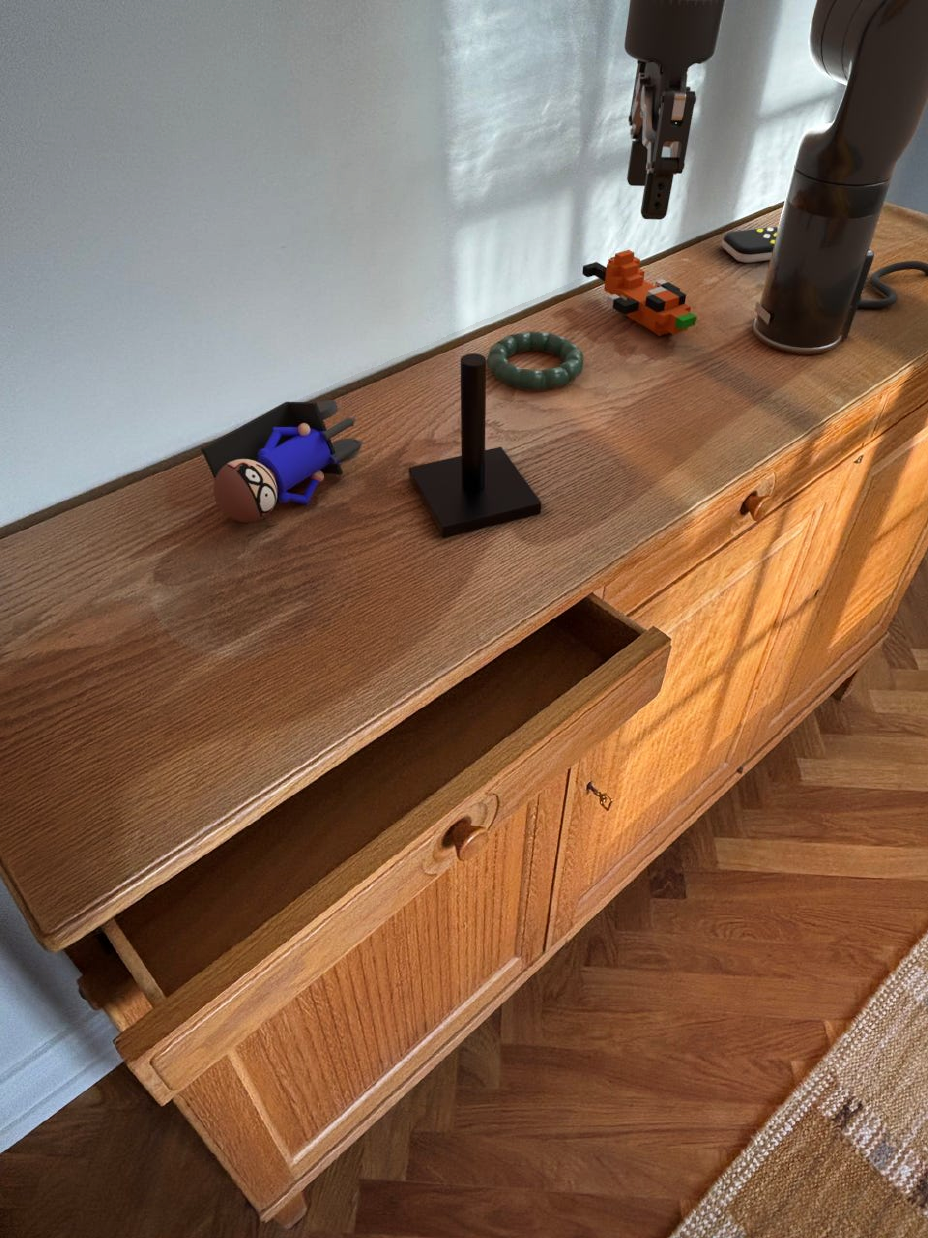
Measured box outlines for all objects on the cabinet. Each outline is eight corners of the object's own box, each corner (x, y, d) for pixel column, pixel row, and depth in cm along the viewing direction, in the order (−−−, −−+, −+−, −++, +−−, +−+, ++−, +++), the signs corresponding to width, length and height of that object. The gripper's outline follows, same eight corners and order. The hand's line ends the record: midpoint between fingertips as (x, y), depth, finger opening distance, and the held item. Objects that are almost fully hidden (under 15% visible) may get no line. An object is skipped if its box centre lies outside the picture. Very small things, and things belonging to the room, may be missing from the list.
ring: (557, 338, 96) (558, 321, 95) (598, 382, 90) (600, 364, 88) (473, 355, 94) (473, 338, 92) (509, 401, 87) (510, 383, 86)
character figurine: (378, 473, 79) (248, 556, 72) (324, 439, 82) (194, 514, 75) (375, 401, 74) (233, 483, 66) (317, 367, 77) (175, 441, 69)
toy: (632, 234, 101) (723, 282, 92) (625, 284, 106) (712, 334, 97) (577, 250, 98) (665, 300, 89) (573, 301, 103) (657, 354, 94)
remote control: (717, 245, 113) (720, 230, 112) (805, 235, 115) (809, 220, 114) (739, 265, 109) (742, 249, 108) (830, 254, 111) (834, 238, 110)
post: (500, 456, 81) (504, 323, 71) (540, 513, 75) (550, 375, 65) (409, 478, 78) (400, 343, 69) (442, 538, 73) (438, 399, 63)
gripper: (748, 5, 64) (700, 231, 75) (708, -29, 74) (671, 174, 85) (647, 3, 64) (614, 229, 75) (620, -32, 74) (595, 173, 85)
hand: (645, 200), depth 80 cm, fingers open, 8 cm apart
